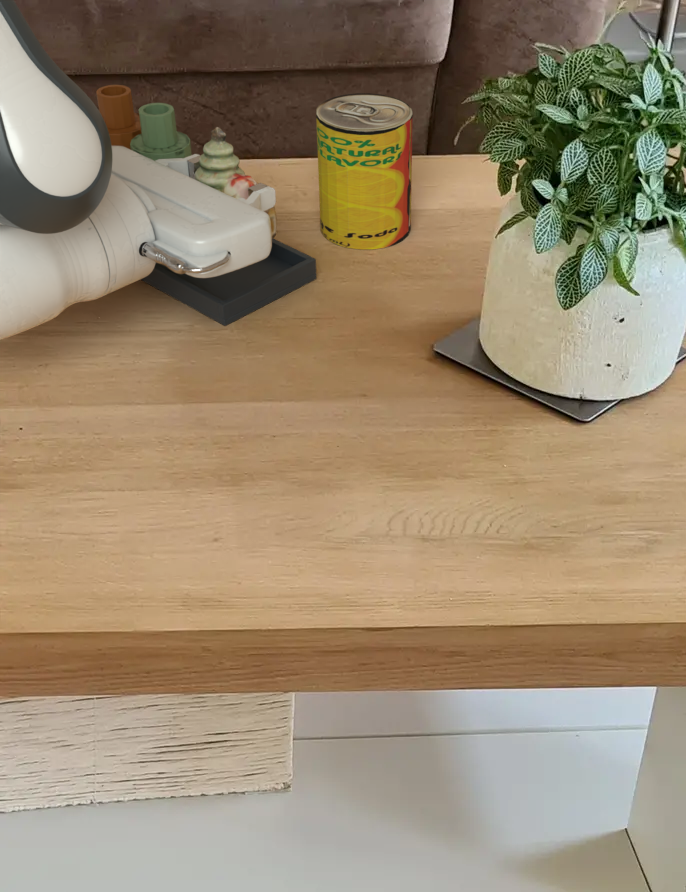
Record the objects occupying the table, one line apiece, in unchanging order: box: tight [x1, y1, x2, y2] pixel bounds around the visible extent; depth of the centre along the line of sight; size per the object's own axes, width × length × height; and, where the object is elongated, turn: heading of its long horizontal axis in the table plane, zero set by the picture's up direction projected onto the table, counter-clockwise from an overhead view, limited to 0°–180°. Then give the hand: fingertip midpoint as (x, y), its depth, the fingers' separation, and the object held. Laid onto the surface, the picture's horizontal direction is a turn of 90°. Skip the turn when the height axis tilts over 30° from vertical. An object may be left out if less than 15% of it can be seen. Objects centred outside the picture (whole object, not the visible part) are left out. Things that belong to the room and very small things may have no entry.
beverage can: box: [315, 92, 414, 250], centre depth 112 cm, size 9×9×12 cm
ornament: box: [195, 126, 278, 239], centre depth 101 cm, size 8×6×10 cm
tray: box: [139, 238, 317, 327], centre depth 110 cm, size 23×11×2 cm, turn 50°
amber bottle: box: [95, 84, 142, 150], centre depth 110 cm, size 5×5×14 cm
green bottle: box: [130, 102, 193, 161], centre depth 107 cm, size 5×5×14 cm
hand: (236, 178), depth 101 cm, fingers closed on ornament, 7 cm apart
